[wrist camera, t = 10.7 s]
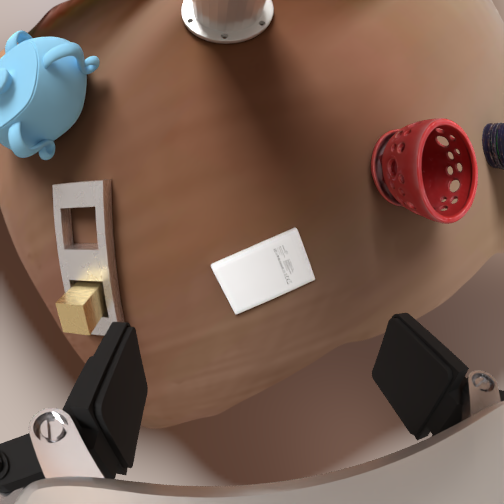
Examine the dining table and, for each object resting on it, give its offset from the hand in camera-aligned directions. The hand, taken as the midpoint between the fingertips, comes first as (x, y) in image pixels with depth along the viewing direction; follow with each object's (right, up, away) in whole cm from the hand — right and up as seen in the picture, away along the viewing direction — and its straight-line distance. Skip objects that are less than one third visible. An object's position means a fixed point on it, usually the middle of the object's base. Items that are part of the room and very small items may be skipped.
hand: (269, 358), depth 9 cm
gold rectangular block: (-24, -2, +27) cm, 36 cm away
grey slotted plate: (-24, +3, +26) cm, 35 cm away
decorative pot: (-29, +26, +18) cm, 43 cm away
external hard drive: (+1, +1, +30) cm, 30 cm away
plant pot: (+22, +17, +28) cm, 39 cm away
